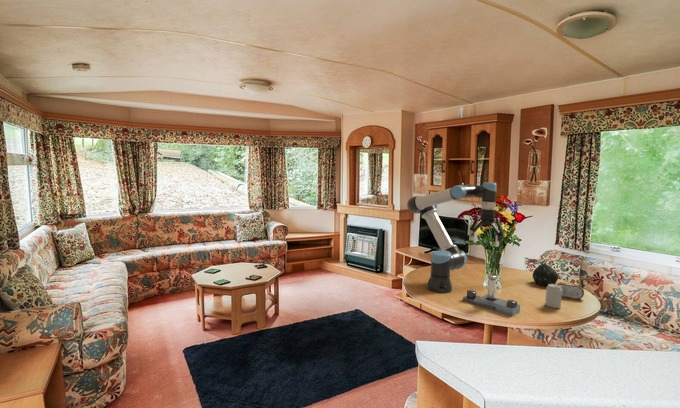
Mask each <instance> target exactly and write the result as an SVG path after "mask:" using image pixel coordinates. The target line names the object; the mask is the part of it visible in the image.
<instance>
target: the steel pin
mask: <svg viewBox="0 0 680 408" xmlns="http://www.w3.org/2000/svg"><path fill="white" fill-rule="evenodd" d="M487 278H488V285H487V294H486V295H487V300H490V301H494V297H496V284H497V283H496V281H497V280H498V276H497V275H494V274H488V275H487Z"/></svg>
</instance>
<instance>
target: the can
mask: <svg viewBox="0 0 680 408" xmlns="http://www.w3.org/2000/svg"><path fill="white" fill-rule="evenodd" d="M556 284H557V283H556ZM556 284H548V286H546V288H545V289H546V291H545V303H544V304H545V305H546V306H547V307H548V308H551V309H559V308H560V307H561V306H562V297H561V296H562V289H561V286H559V285H556Z"/></svg>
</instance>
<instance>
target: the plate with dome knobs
mask: <svg viewBox="0 0 680 408" xmlns="http://www.w3.org/2000/svg"><path fill="white" fill-rule="evenodd" d="M487 295H488V294H485V295H483V296H480V295H477V291H476V290H472V289H469V290H467V291H466V295H465V296H463V297H462V302H463V301H464V302H466V303H469V304H472V305H476V306H479V307H482V308H484V309H485V308H486V309H489V310H491V311H495V312H498V313H501V314H504V315H507V316H511V317H513V316H516V315H517V314H520V313H521V304H519V303H518V301H517V300H515V299H514V300H513V299H507V300H505V299H502V298H499V297H496V296H495V297H494V301H490V300H487Z"/></svg>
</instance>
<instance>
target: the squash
mask: <svg viewBox="0 0 680 408" xmlns="http://www.w3.org/2000/svg"><path fill="white" fill-rule="evenodd" d="M532 272H533V273H532V279H533V280H534V282H535V284H537V285H540V286H542V287H543V286H545V287H547V286H548V284H557V281H558V280H559V275H558V272H557V271H556V270H555V269H554V268H552V267H551V266H550V265H548V264H546V263H541V264H540V265H538V266H537V267H536V268H534V270H533V271H532Z"/></svg>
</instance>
